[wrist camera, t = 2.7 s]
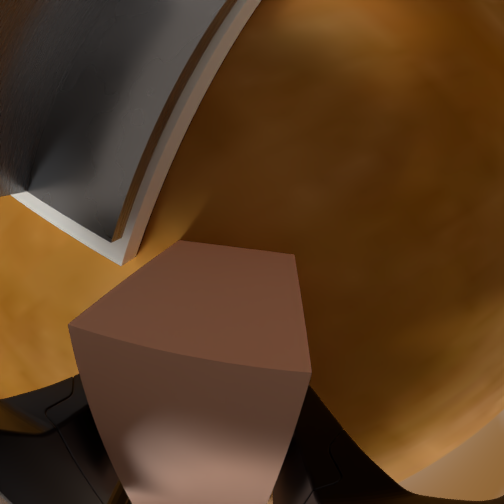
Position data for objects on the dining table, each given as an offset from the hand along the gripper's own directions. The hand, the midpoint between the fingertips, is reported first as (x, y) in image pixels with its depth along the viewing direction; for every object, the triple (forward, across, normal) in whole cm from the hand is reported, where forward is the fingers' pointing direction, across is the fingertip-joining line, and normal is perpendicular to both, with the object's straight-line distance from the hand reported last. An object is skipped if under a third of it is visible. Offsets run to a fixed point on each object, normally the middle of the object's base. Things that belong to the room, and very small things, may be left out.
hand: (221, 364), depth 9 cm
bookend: (0, +4, -8) cm, 9 cm away
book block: (+1, 0, 0) cm, 1 cm away
